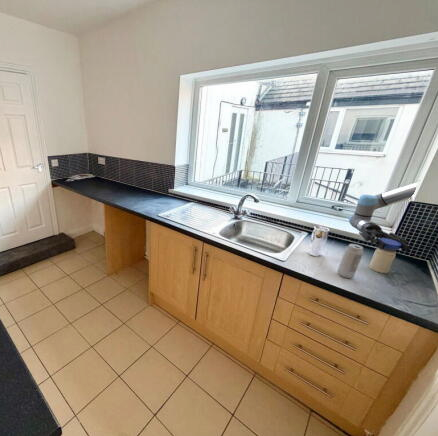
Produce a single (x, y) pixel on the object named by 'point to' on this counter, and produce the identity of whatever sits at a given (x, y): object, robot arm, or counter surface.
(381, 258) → the jam jar
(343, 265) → the energy drink can
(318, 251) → the beer glass
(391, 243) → the jar lid
